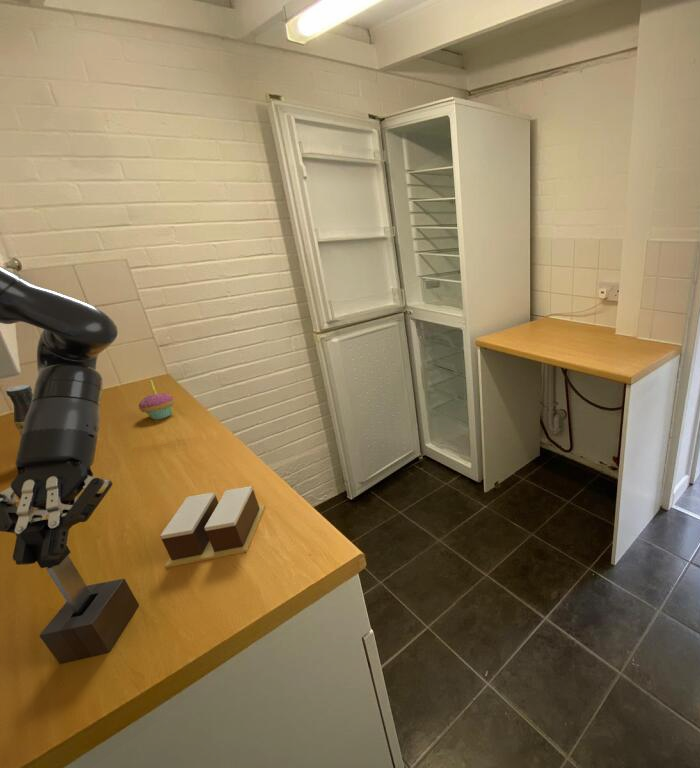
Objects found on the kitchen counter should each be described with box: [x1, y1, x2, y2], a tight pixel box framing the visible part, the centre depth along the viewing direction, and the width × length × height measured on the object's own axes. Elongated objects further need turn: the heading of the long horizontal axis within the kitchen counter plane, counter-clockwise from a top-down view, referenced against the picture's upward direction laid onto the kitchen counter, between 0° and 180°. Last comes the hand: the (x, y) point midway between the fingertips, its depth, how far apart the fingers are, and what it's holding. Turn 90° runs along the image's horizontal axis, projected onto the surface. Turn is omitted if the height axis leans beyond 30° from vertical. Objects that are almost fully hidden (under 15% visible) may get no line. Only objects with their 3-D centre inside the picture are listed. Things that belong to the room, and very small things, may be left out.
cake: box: [160, 485, 266, 569], centre depth 80 cm, size 13×13×6 cm
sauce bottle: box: [5, 384, 33, 436], centre depth 105 cm, size 6×6×20 cm
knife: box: [19, 518, 93, 615], centre depth 58 cm, size 3×2×15 cm, turn 15°
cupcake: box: [138, 377, 175, 420], centre depth 127 cm, size 9×8×12 cm
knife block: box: [38, 578, 140, 665], centre depth 62 cm, size 8×6×6 cm
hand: (38, 561), depth 54 cm, fingers closed on knife, 2 cm apart
